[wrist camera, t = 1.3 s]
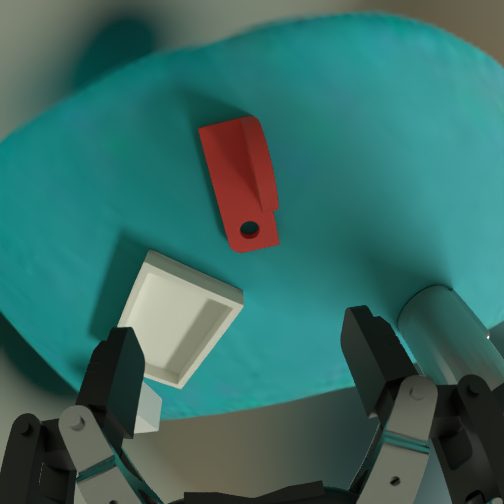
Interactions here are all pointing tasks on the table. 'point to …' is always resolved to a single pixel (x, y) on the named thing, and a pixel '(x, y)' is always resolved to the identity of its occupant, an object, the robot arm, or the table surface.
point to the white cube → (148, 410)
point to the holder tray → (177, 316)
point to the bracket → (242, 180)
